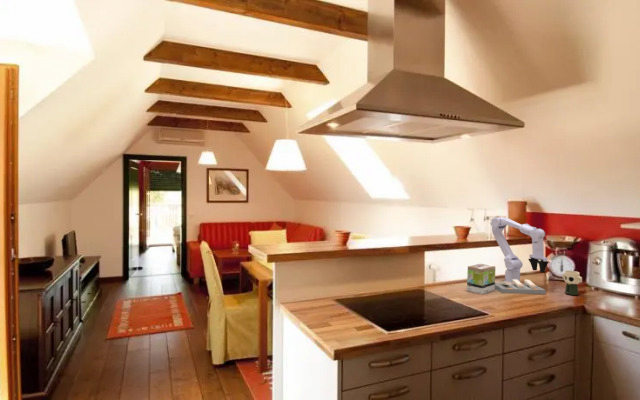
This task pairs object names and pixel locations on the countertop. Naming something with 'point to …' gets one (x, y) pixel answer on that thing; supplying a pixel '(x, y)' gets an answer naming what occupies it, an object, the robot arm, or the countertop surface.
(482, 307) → the countertop surface
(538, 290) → the panel
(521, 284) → the rocker
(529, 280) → the rocker
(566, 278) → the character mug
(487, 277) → the tea box
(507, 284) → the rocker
